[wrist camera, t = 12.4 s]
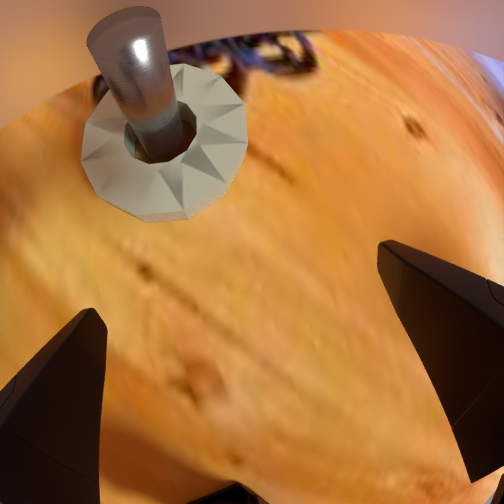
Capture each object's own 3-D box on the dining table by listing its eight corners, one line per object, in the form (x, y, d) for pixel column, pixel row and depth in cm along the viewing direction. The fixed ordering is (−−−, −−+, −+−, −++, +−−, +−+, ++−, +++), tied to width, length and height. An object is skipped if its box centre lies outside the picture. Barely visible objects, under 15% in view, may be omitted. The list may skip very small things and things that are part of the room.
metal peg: (171, 172, 21) (122, 62, 8) (139, 154, 21) (72, 46, 8) (194, 139, 21) (176, 14, 8) (162, 122, 21) (123, 2, 8)
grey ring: (139, 253, 20) (127, 250, 17) (77, 137, 20) (63, 122, 17) (273, 165, 22) (281, 150, 19) (194, 66, 22) (192, 45, 19)
